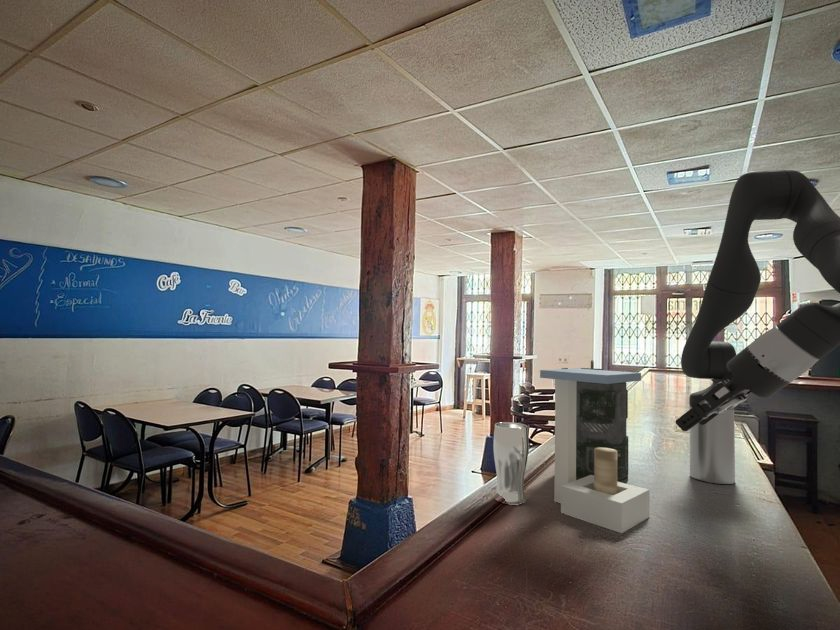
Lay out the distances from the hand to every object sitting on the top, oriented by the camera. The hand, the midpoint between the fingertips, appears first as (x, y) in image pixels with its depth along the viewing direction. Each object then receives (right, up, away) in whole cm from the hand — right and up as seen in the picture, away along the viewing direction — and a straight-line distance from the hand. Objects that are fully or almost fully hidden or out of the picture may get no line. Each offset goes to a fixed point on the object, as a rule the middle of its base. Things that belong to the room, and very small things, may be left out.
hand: (689, 423), depth 78 cm
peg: (-12, -19, +6) cm, 23 cm away
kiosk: (-13, -19, +8) cm, 24 cm away
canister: (-6, -20, +28) cm, 35 cm away
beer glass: (-29, -19, +13) cm, 36 cm away
